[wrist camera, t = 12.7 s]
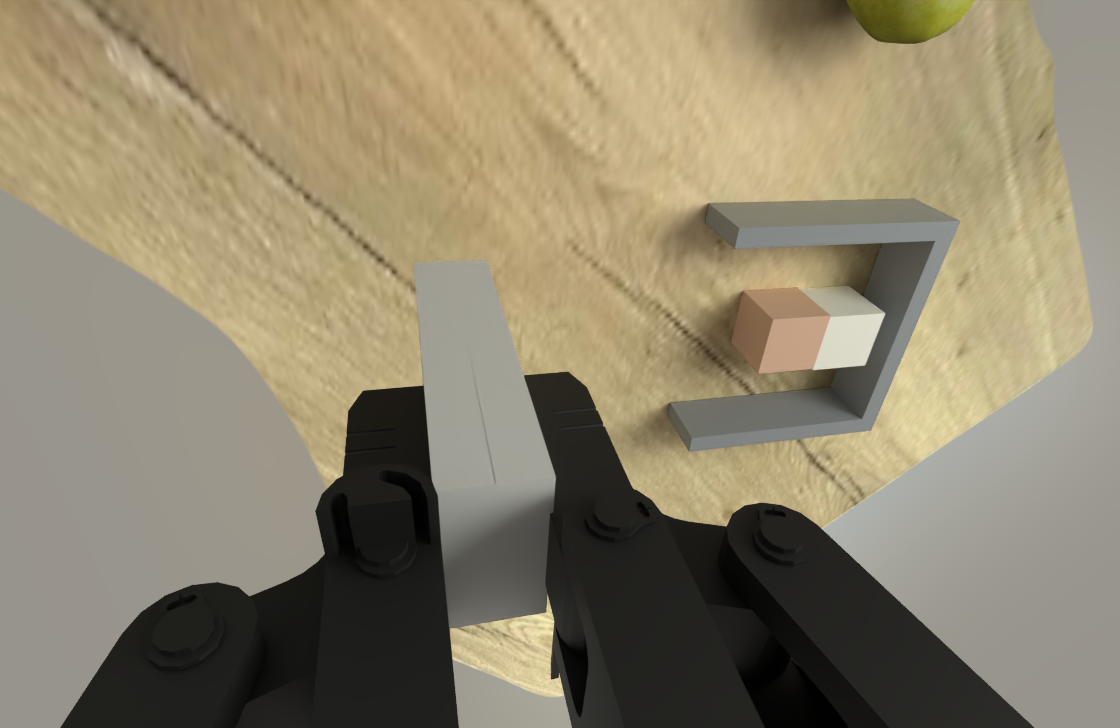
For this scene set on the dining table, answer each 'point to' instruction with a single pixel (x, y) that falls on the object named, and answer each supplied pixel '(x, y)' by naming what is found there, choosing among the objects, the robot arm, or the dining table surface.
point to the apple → (907, 18)
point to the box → (894, 287)
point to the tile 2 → (845, 326)
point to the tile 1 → (779, 329)
